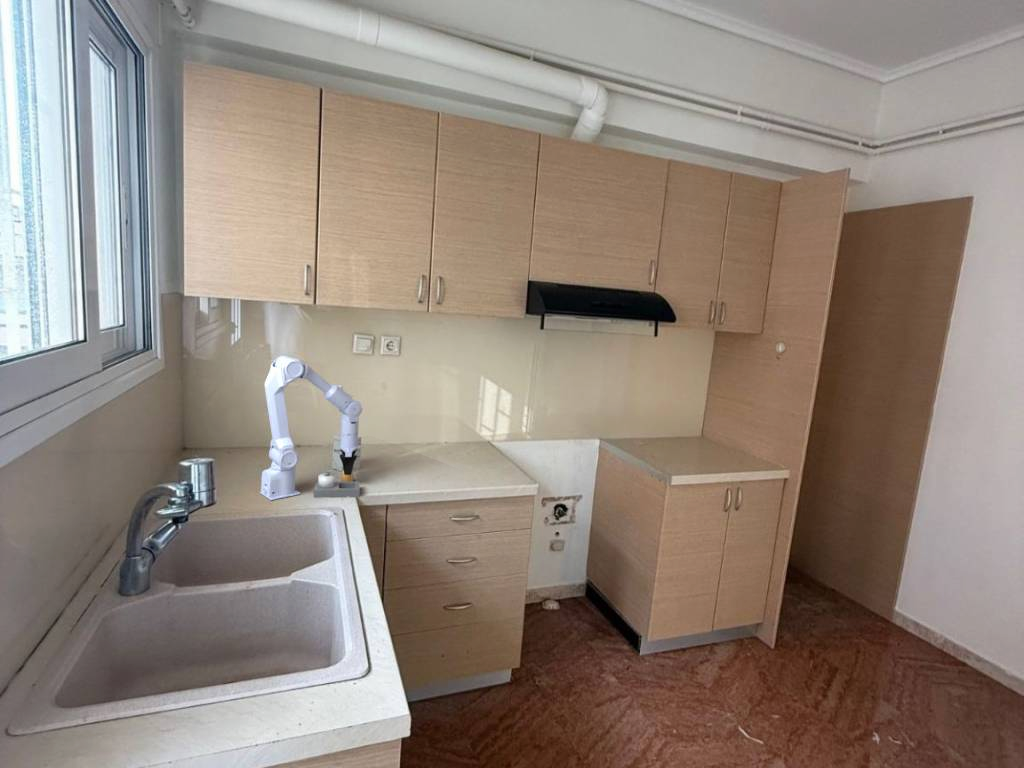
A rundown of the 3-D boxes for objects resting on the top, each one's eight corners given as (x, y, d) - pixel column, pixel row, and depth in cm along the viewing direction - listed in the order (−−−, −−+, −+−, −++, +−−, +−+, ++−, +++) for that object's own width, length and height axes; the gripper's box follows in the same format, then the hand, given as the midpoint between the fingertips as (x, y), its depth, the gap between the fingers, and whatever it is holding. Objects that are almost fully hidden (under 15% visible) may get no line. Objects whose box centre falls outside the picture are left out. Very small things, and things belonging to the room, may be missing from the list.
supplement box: (331, 468, 195) (332, 436, 193) (346, 464, 201) (347, 433, 200) (345, 473, 191) (347, 439, 190) (360, 468, 198) (362, 436, 196)
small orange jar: (344, 486, 178) (345, 469, 177) (338, 482, 180) (339, 466, 180) (355, 483, 181) (356, 467, 180) (349, 480, 184) (349, 464, 183)
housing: (313, 497, 165) (314, 476, 164) (315, 489, 172) (316, 468, 172) (359, 496, 169) (360, 476, 168) (359, 488, 177) (360, 468, 176)
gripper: (361, 438, 173) (359, 477, 175) (361, 428, 186) (359, 464, 188) (339, 438, 171) (337, 478, 172) (340, 428, 184) (339, 464, 186)
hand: (347, 471), depth 180 cm, fingers open, 7 cm apart
